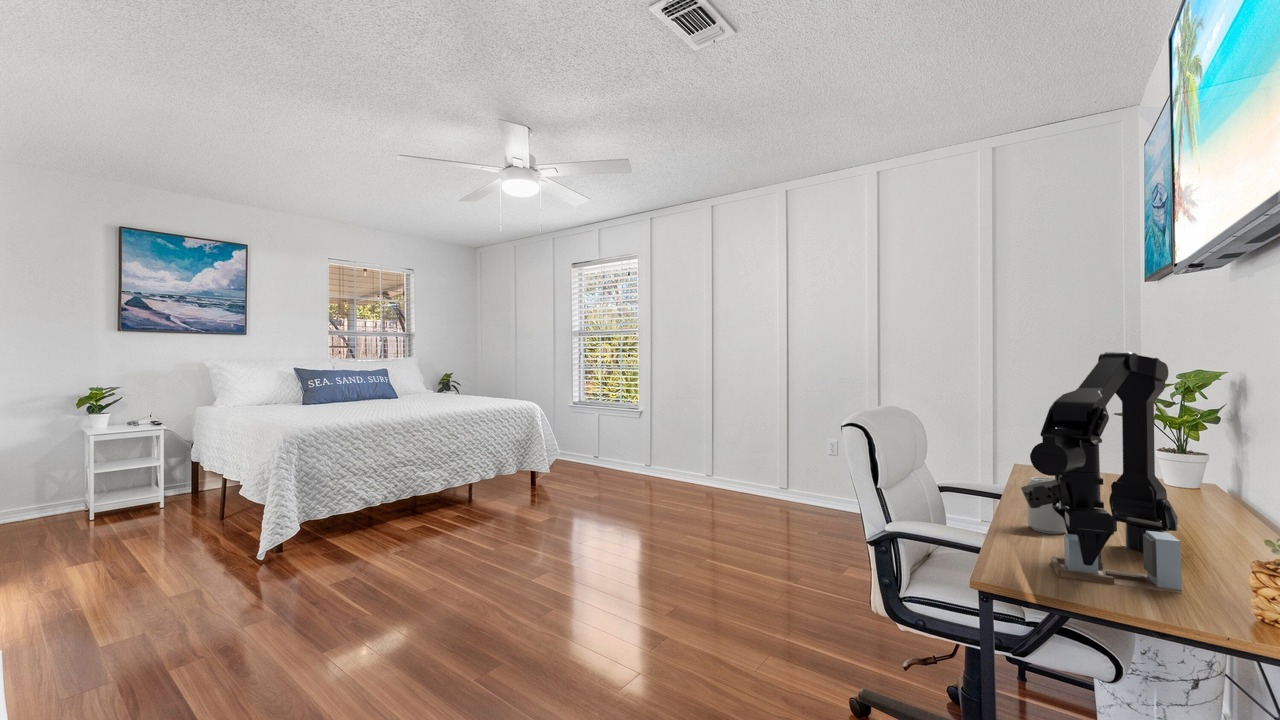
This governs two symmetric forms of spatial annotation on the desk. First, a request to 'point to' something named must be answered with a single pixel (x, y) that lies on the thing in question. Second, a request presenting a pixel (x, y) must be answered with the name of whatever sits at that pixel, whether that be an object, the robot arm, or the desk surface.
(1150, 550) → the block
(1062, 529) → the can
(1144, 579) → the rail
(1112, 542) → the desk surface
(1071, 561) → the finger block
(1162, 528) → the robot arm
